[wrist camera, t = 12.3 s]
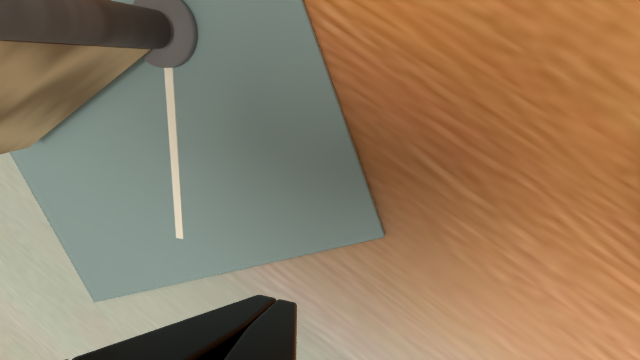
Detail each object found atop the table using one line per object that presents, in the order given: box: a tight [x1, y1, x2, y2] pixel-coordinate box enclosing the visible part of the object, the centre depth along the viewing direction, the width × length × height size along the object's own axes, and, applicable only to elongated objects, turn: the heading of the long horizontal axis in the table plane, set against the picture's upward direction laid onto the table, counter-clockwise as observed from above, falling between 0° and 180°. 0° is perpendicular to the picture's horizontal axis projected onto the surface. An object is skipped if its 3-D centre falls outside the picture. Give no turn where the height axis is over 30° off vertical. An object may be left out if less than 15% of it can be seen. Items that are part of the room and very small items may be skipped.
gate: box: [0, 0, 171, 154], centre depth 16 cm, size 13×2×8 cm, turn 121°
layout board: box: [10, 0, 385, 302], centre depth 20 cm, size 22×18×1 cm
